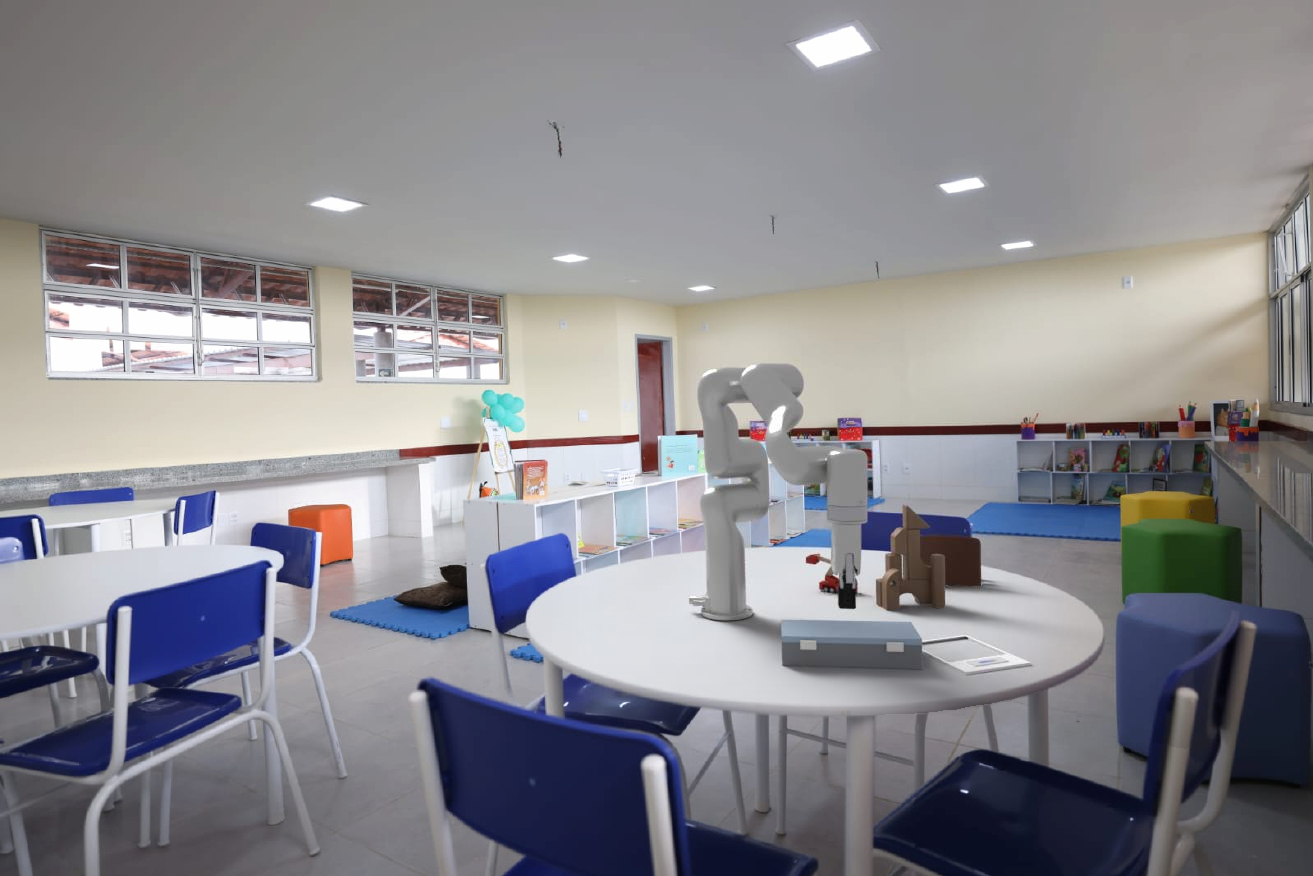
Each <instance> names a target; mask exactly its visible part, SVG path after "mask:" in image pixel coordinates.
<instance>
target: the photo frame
mask: <svg viewBox="0 0 1313 876" xmlns="http://www.w3.org/2000/svg"><path fill="white" fill-rule="evenodd" d="M964 638H965V639H968V641H970V642H972V643H974V644H976V645H979V646H982V647H983V648H986V649H989V650H990V651H993V652H994V653H995V652H996V653H998V654H999V655H991V656H984V657H979V658H970V659H963V660H957V661H950V662H949V661H947V660H945V659H943V658H941V657H939V656H937V655H935V654H934V653H931V652H929V651H927V650H925V649H923V648H922V655H925V656H927V657H929V658H931V659H932V660H934V661H937V662H939V663H941V664H942V665H945V666H947V667H949V668H951V669H953V670H955V671H957V672H959V673H961V674H964V675H965V676H966V675H973V674H980V673H986V672H994V671H1000V670H1006V669H1013V668H1019V667H1020V668H1021V667H1026V666H1031V664H1032V663H1031V661H1028V660H1026V659H1024V658H1021V657H1019V656H1017V655H1014V654H1012V653H1009V652H1007V651H1004V650H1003V649H1000V648H997V647H995V646H993V645H990V644H988V643H986V642H983V641H981V640H979V639H976V638H974V637H972V636H969V635H967V634H964V635H963V634H962V635H956V636H955V635H954V636H953V635H952V636H947V637H940V638H933V639H926V640H922V644H926V643H934V642H940V641H941V642H943V641H948V640H949V641H950V640H957V639H964Z"/></svg>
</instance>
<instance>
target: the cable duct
mask: <svg viewBox="0 0 1313 876" xmlns="http://www.w3.org/2000/svg"><path fill="white" fill-rule="evenodd" d="M781 637H782V633H781ZM922 649H923V644H922V645H904V652H889V651H887V648H886V645H883V644H838V643H816V650H805V649H800V643H794V642H782V641H781V661H782V662H781V663H782V665H781V666H785V667H786V666H787V667H788V666H789V667H790V666H794V667H795V666H797V667H798V666H799V667H824V668H825V667H827V668H828V667H831V668H864V669H866V668H868V669H899V670H900V669H904V670H923V653H922Z"/></svg>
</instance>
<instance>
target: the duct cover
mask: <svg viewBox="0 0 1313 876" xmlns="http://www.w3.org/2000/svg"><path fill="white" fill-rule="evenodd" d="M780 623H781V624H780V628H781V631H780V632H781V633H782V636H781V643H782V642H794V643H800V649H805V650H816V643H838V644H883V645H886V648H887V651H889V652H904V645H922V646H923V643H922V641H923V638H922V637H921V635H920V634H919V632H918V631H917V629H916V628H915V626H914V624H913V623H912V622H911V621H883V620H879V621H878V620H834V619H833V620H832V619H830V620H828V619H827V620H825V619H823V620H822V619H821V620H820V619H816V620H815V619H780Z"/></svg>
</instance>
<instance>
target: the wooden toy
mask: <svg viewBox="0 0 1313 876" xmlns="http://www.w3.org/2000/svg"><path fill="white" fill-rule="evenodd" d="M926 529H927V530H929V529H931V526H930V525H929V524H928V523H927V522H926V521H925V520H924V519H923V518H921V517H920V515H918V514H917V513H916V512H915V511H914V510H913V509H912V508H911V507H910V506H908V505H907V504H902V527H896V528H895V529H894V531H893V532H892V533H891V534H890V553H889V552H888V553H885V555H884V558H885V559H884V562H885V563H884V564H885V568H884V569H885V570H884V571H885V573H884V574H883V575H882V578H875V604H876V606H877V605H878V606H879V607H881V608H883V609H884V610H886V611H899V610H901V605H900V604H901V601H900V600H901V599H900V598H901V596H902V595H904V594H905V595H906V594H911V595H912V596H913V598H914V602H915V603H916V604H918V605H920V606H929V605H930V606H932V607H933V608H936V609H943V608H946V585H945V556H944V555H942V554H932V555H931V567H930V566H928V565H926V564H924V563H923V561H922V560H921V558H920V535H921V530H926ZM903 571H904V578H903Z"/></svg>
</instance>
